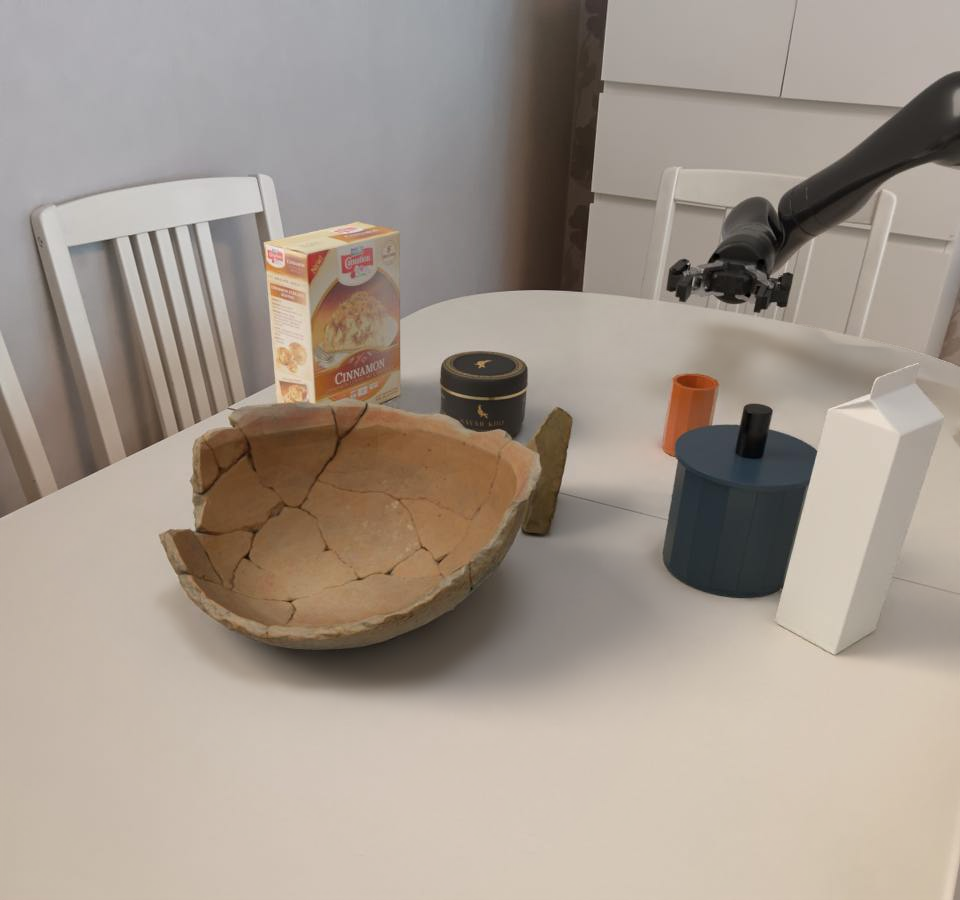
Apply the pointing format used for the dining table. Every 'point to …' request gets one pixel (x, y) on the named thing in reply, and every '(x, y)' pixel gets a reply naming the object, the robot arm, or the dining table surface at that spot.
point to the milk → (858, 511)
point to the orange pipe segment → (688, 406)
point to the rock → (548, 470)
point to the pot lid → (747, 454)
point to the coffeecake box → (335, 314)
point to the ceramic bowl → (346, 520)
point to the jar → (484, 390)
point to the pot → (730, 536)
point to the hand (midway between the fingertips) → (720, 298)
